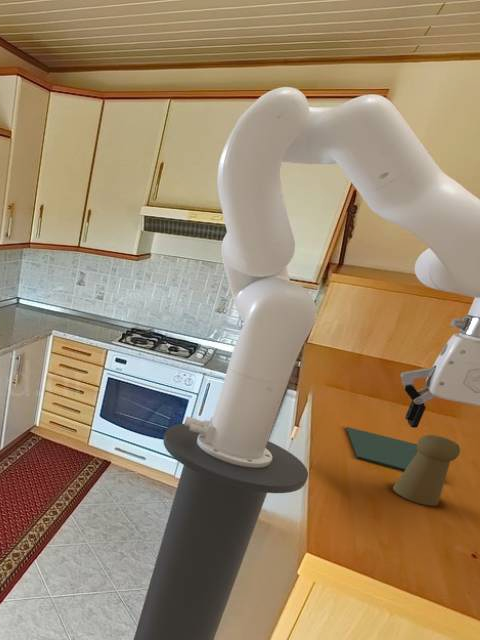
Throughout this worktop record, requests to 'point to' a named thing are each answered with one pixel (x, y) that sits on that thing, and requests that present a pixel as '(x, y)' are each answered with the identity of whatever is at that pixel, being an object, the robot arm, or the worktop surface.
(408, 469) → the cork
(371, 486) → the worktop surface
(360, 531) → the worktop surface
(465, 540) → the worktop surface
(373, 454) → the side mat
